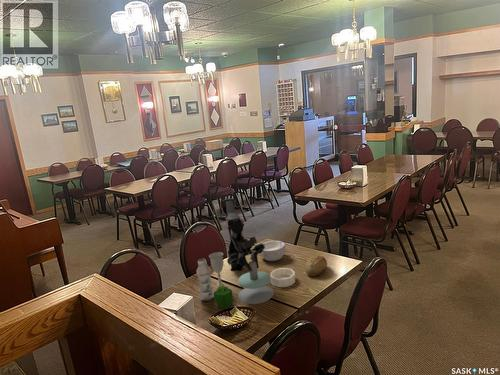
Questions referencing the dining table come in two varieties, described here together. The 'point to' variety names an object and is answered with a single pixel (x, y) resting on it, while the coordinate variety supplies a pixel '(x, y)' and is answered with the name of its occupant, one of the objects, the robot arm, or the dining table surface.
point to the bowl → (282, 277)
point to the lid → (254, 278)
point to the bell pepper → (223, 297)
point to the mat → (255, 295)
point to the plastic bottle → (205, 280)
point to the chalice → (217, 264)
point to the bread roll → (315, 265)
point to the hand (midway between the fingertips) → (254, 269)
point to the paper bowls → (273, 250)
